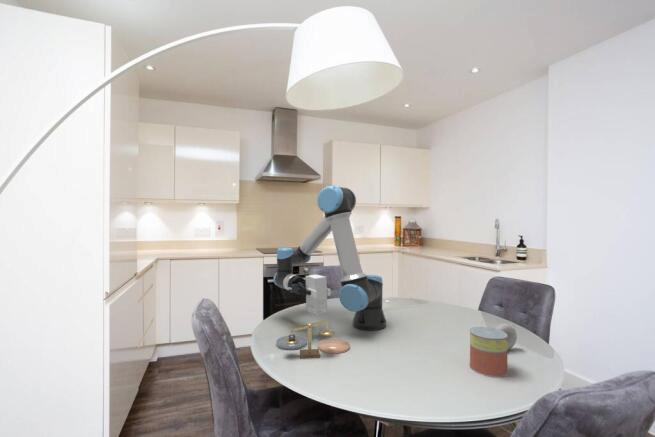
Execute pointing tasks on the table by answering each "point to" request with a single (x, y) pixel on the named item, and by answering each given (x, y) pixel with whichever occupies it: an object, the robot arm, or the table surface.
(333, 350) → the terracotta dish
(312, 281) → the skincare box
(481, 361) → the canned food
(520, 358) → the table surface
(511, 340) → the donut
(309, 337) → the balance
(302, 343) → the slate dish
